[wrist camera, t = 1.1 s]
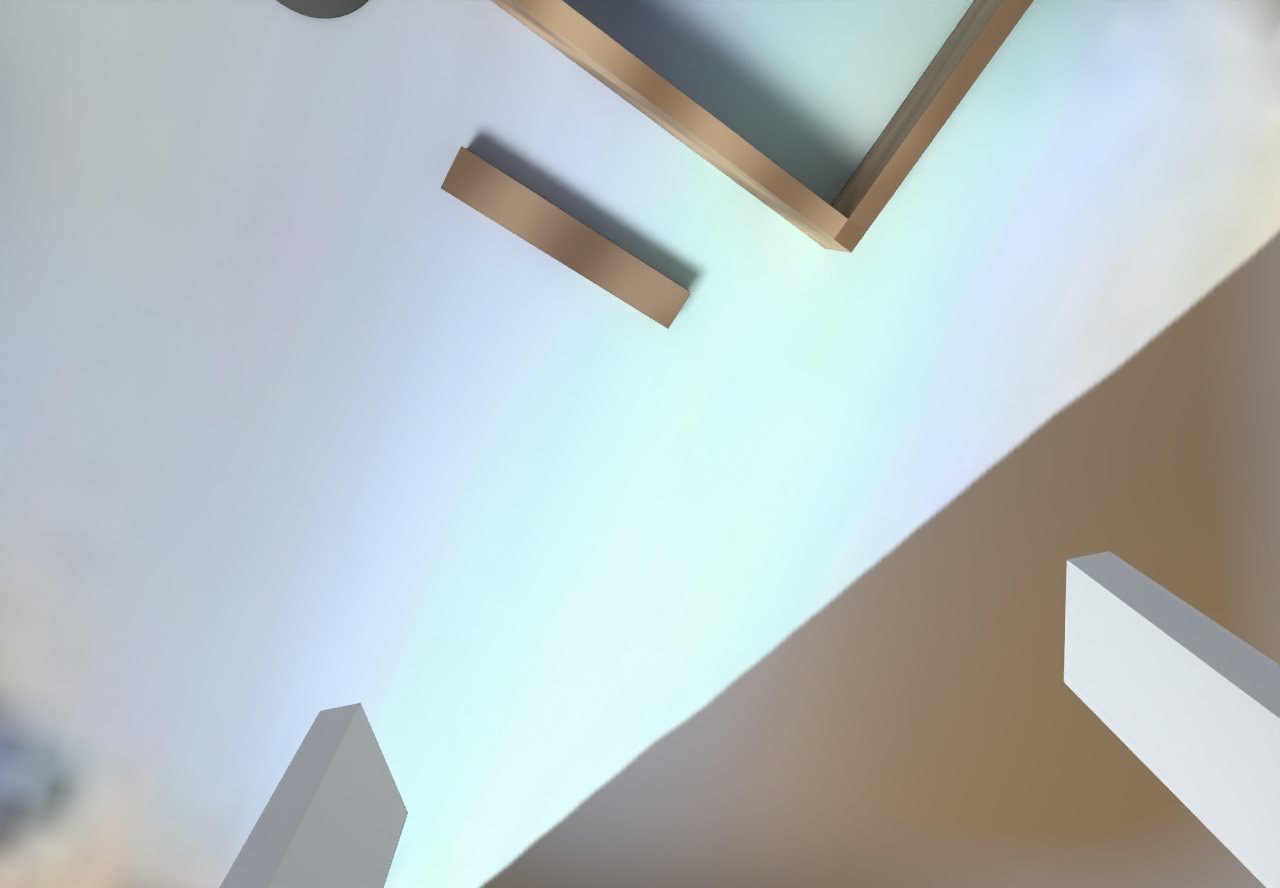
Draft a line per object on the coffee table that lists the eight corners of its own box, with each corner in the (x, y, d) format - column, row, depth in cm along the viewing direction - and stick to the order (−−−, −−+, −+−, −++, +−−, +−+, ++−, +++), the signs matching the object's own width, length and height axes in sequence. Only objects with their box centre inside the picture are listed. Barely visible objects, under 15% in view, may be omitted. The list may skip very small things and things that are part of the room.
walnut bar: (448, 189, 31) (440, 188, 29) (468, 149, 30) (461, 146, 29) (664, 323, 33) (668, 328, 32) (686, 289, 33) (690, 292, 31)
